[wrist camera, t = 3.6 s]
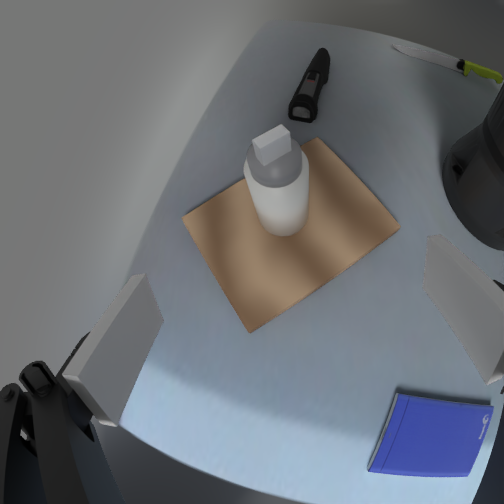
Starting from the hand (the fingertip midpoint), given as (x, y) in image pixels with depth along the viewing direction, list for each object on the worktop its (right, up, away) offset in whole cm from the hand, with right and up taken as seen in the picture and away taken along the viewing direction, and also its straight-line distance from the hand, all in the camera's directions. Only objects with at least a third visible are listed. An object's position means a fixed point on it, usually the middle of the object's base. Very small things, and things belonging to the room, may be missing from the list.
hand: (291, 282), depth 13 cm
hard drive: (+16, -17, +8) cm, 25 cm away
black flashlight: (+7, +24, +24) cm, 35 cm away
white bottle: (+1, +5, +17) cm, 17 cm away
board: (+2, +4, +17) cm, 18 cm away
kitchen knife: (+33, +34, +23) cm, 52 cm away
